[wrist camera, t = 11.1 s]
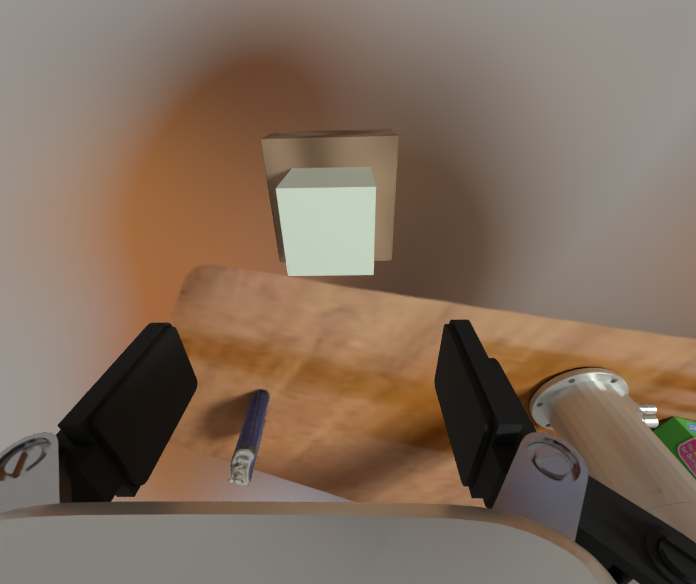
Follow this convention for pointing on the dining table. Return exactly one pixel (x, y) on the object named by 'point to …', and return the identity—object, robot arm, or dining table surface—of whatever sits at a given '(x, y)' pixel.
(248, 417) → the flask
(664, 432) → the game box
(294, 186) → the sage block
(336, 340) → the dining table surface
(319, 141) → the walnut block
